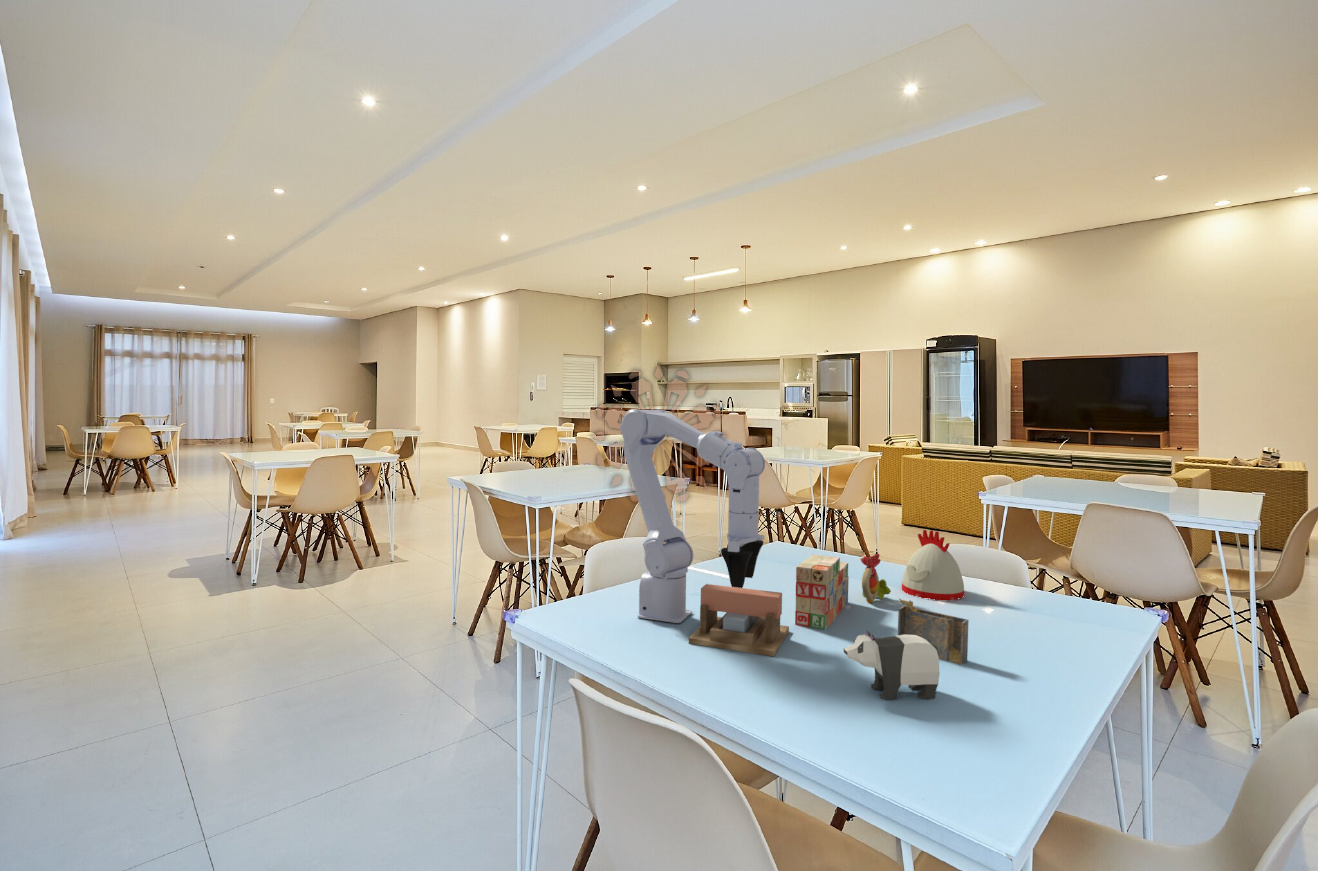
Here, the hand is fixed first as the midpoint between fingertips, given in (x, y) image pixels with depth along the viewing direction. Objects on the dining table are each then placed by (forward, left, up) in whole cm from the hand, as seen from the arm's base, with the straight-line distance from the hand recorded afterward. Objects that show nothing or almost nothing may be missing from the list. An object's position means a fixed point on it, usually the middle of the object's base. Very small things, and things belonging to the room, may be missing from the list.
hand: (742, 581), depth 122 cm
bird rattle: (+22, +35, -11) cm, 43 cm away
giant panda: (+28, -15, -11) cm, 34 cm away
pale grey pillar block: (0, -1, -9) cm, 9 cm away
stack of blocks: (+13, +21, -11) cm, 27 cm away
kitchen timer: (+35, +48, -11) cm, 60 cm away
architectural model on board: (+34, +5, -11) cm, 36 cm away
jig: (0, -1, -10) cm, 10 cm away
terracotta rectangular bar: (0, -1, -5) cm, 5 cm away
